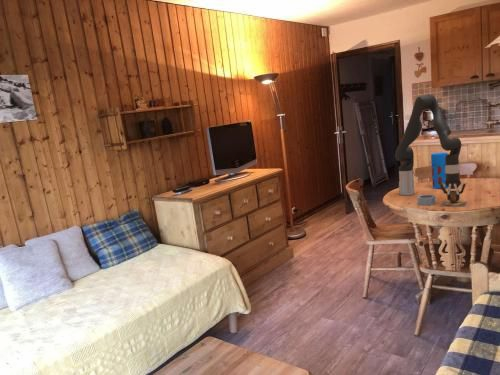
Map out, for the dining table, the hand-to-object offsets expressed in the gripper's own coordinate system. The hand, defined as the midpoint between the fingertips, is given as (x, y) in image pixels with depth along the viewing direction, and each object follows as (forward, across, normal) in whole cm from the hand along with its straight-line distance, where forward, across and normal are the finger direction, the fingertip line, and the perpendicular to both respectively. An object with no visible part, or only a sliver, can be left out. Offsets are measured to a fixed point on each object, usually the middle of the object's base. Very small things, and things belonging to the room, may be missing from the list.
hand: (453, 200), depth 229 cm
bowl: (+3, -15, 0) cm, 15 cm away
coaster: (+3, 0, 0) cm, 3 cm away
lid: (+2, 0, 0) cm, 2 cm away
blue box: (+3, -15, +51) cm, 53 cm away
